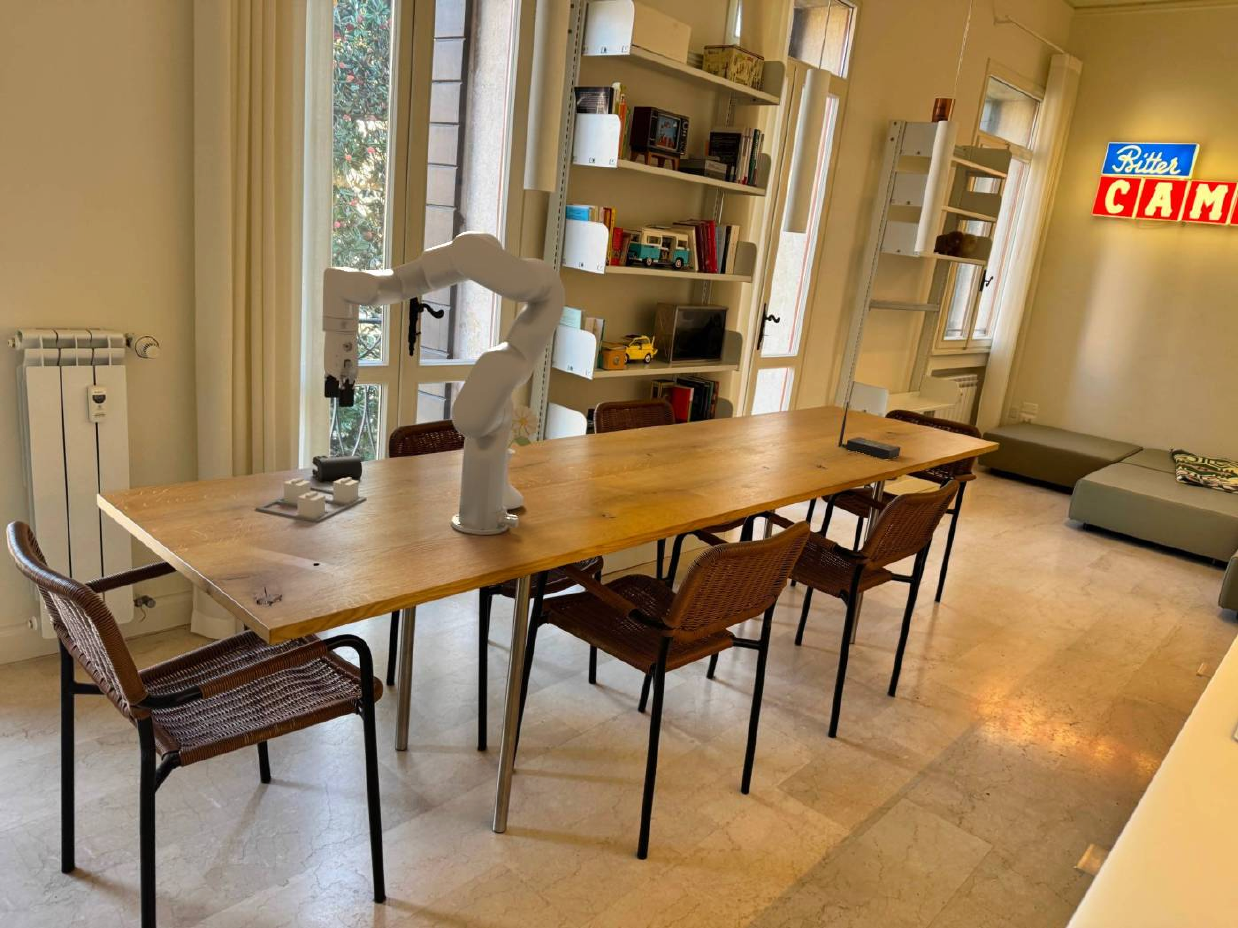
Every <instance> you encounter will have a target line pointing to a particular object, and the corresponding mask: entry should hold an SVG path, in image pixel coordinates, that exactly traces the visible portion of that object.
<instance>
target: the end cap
mask: <svg viewBox="0 0 1238 928" xmlns="http://www.w3.org/2000/svg"><path fill="white" fill-rule="evenodd" d="M311 463H312V465H314V466H316V468H317V469H315V468H312V470H311V471H312V475H313V476H314V477H315V478H316V480H317V482H319V483H321V484H322V483H332V482H335V481H337V480H340V479H342V478H348V477H351V478H352V480H360V479H361V478H362V476H363V464H362V460H361V459H360V457H359V456H358V455H350V454H347V453H343V454H342V453H340V454H336V457H335V456H333V457H328V456H327V455H316V456H314V457H313V458H312V462H311Z"/></svg>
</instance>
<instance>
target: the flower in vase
mask: <svg viewBox="0 0 1238 928" xmlns="http://www.w3.org/2000/svg"><path fill="white" fill-rule="evenodd" d="M538 427H539V420H538V418H537V415H536V413H534V411H533V409H532V408H530V407H528V406H527V405H525V406H523V405H522V404H519V405H518V406H515V408H514V415H513V421H512V426H511V432H512V434H513V435H514V437H513V438H512V441H510V443H509V444H508V454H507V463H506V475H505V487H504V499H503V507H507V511H508V510H514V509H517V508H520V507H522V506H523V504H525V498H524V496H523V495H522V493H521V492H520V491H519V490H518V489H516V488H515V486H513V485H512V484H511V483H510V481H509V478H508V470H509V466H510V465H509V464H510V462H511V459H512V457H513V455H514V454H515V453H516V451H515V450H514V449H511V448H510V447H511V446H512V445H513V443H514V442H516V444H517V445H518V446H520V447H526V446H529V445H531V444H532V442H531V440H530V439H529V437H530V436H533V435H534V434H536V433H537V429H538Z"/></svg>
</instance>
